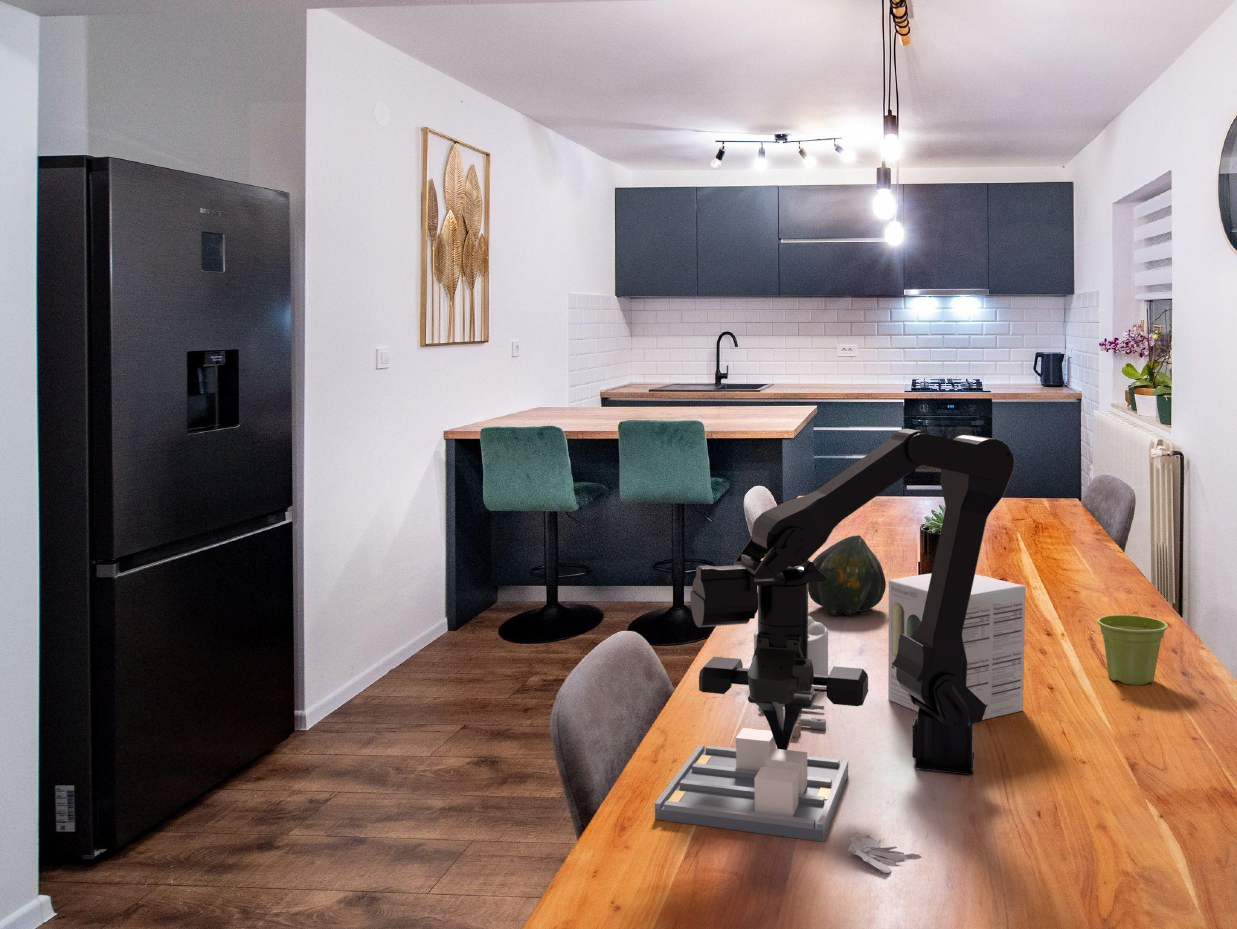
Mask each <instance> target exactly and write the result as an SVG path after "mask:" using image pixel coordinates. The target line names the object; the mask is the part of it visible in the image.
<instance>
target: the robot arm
mask: <svg viewBox="0 0 1237 929" xmlns="http://www.w3.org/2000/svg"><path fill="white" fill-rule="evenodd" d="M1015 461H1016V460H1015V456H1014V453H1013V452H1012V450H1010V446H1008V445H1007V444H1006V443H1005V442H1003V441H1002V440H999V439H997V438H992V437H986V436H985V437H984V436H977V435H971V434H963V435H962V434H961V435H959V436H955V438H946V437H942V436H937V435H933V434H929V433H928V432H926V431H923V430H918V429H917V430H916V429H910V428H903V429H900V430H898V431H896V432H895V433H894V434H893V435H892V436H891V437H890V439H888V440H887V441H885V442H884V443H882V444H881V445H880V446H878V447H876V448H875V449H873V450H872V451H871V452H869V453H868V454H866V455H865V456H864V457H862V458H860V459H859V460H857V461H856V462H854V464H852V465H851V466H848V468H846V469H845V470H844V471H842V472H840V473H839V474H838V475H836V476H835V477H833V478H832V479H830V480H829V481H828V482H826V483H825V484H823V485H822V486H820V487H819V488H818V489H816V490H814V491H812V492H810V493H808V494H805V495H803V496H799V497H796V498H793V499H790V500H786V501H785V502H783V503H780V504H778V505H776V506H774V507H772V508H770V509H768V510H767V509H766V510H765V511H763V512H762V513H760V515H758V517H756V518H755V519H754V521H753V525H752V526H753V527H752V530H751V537H749V539H748V541H747V542H746V543H745V545H744V546H743V548H742V549H741V550H740V552H739V554H737V556H736V558H735V559H734V561H733V565H722V566H721V565H720V566H719V565H718V566H713V565H698V566H696V573H695V575H696V576H695V577H694V579H693V581H692V582H693V583H692V589H691V590H690V592H689V593H690V597H689V598H690V607H691V608H690V609H691V615H692V618H693V622H694V624H695V625H696V626H697V628H704V627H705V628H707V627H721V626H722V627H723V626H733V625H747V624H749V622H750V620H752V619H755V618H756V614H757V629H758V634H757V641H756V644H757V645H756V649H755V652H754V651H753V655H752V659H751V660H752V661H751V663H750V665H749V667H748V668H745V667H743V661H742V659H741V658H735V657H734V658H733V657H722V656H721V657H720V656H713V657H711V659H709V661H708V662H707V663H706V664H704V665H703V667H702V668H701V669H700V670H699V673H698V674H699V675H698V691H699V692H701V693H707V694H708V693H709V694H718V695H725V694H726V693H727V692H728V691H729V690H730V689H731V688H732V686H733V685H739V686H741V685H742V686H748V691H749V692H748V693H749V695H748V697H747V701H748V702H749V703H750V704H755V705H756V706H758V708H759V707H760V709H761V710H762V711H763V714H764V717H765V719H766V720H767V724H768V725H769V730H770V731H771V732H772V735H773V737H774V740H775V743H776V749H781V750H789V747H790V743H791V741H792V739H793V738H792V735H793V732H794V729H795V726H796V723H797V720H798V718H800V715H801V713H802V711H803V710H804V709H803V708H810V707H811V706H812V705H813V704H815V701H816V699H817V698H818V695H819V694H818V693H819V692H820V693H821V692H823V693H826V698H827V699H828V700H829V701H830V702H831V703H832V704H833V705H839V706H850V707H851V706H852V707H861V706H863V705H864V703H865V701H866V698H867V695H868V693H869V676H868V675H869V674H868V673H867V671H865V669H864V668H860V667H859V668H858V667H848V666H835V665H833V667H832V669H831V670H830V672H829V673H828V675H820V674H814V672H813V664H812V661H811V659H808V616H809V592H808V583H815V582H825V581H826V580H827V577H826V576H825V575H824V574H822V573H821V572H820V571H819V570H818V569H817V568H816V566H815V565H814V563H813V560H810V558H812V556H814V554H816V553H817V551H819V549H820V548H821V547H823V545H824V544H826V542H827V541H828V539H830V536H831V534H832V533H833V531H834V530H835V528H836V527H837V526H838V525H839V524H840V523H841V522H842V521H844V520H845V519H846V518H848V517H849V516H850V515H853V513H855V512H856V511H858V510H859V509H861V508H862V507H863V506H865V505H866V504H868V503H869V502H870V501H871V500H873V499H875V498H876V497H877V496H879V495H881V494H882V493H883V492H885V491H886V490H887V489H889V488H890V487H892V486H893V485H894V484H896V483H898V482H899V481H901V480H902V479H903V478H905V477H906V476H907V475H909V474H910V473H912V472H913V471H914V470H916V469H918V468H919V467H922V466H926V467H931V468H937V469H940V479H939V480H940V486H941V487H940V488H941V491H942V496H943V500H944V501H943V502H944V508H945V510H944V515H943V518H942V524H941V527H940V528H941V529H940V531H939V532H940V533H939V538H938V542H937V548H936V551H935V556H934V562H933V565H932V570H931V573H932V574H931V579H930V584H929V588H928V593H927V598H926V602H925V607H924V612H923V616H922V621H921V623H920V625H919V627H918V628H917V629H916V631H915V632H914V633H913V634H912V636H911V637H910V636H907V635H904V634H901V635H900V637H899V642H898V653H897V656H896V659H895V660H894V662H893V663H892V665H893V666H894V667H896V678H897V681H898V682H899V684H900V685H901V687H902V689H904V690H905V691H906V692H908V694H909V696H910V699H911V702H912V703H913V704H914V705H917V706H919V711H918V712H917V718H914V720H913V723H912V735H911V736H912V738H911V742H912V743H911V744H912V747H911V749H912V750H911V753H912V754H911V755H912V756H911V757H912V758H913V759H915V763H914V768H916V769H917V770H926V771H935V772H943V773H952V774H953V773H955V774H961V775H962V774H963V775H972V774H973V772H974V763H975V752H974V724H980V723H981V722H982V721H983V720H982V719H983V716H984V713H985V710H986V705H985V704H984V703H983V702H982V701H981V700H980V699H979V698H978V697H977V696H976V695H975V694H974V693H973V692H971V691H970V690H969V689H968V688H967V687H966V684H967V665H968V662H967V657H966V652H965V647H964V643H963V638H962V632H963V627H964V623H965V618H966V613H967V609H968V604H969V600H970V595H971V590H972V586H973V581H974V576H975V574H976V572H977V566H978V562H979V559H980V558H979V557H980V553H981V548H982V542H983V539H984V535H985V531H986V529H985V528H986V525H987V521H988V518H989V516H990V514H991V513H992V512H993V510H994V508H995V507H997V505H998V504H999V503H1000V501H1001V500H1002V498H1003V497H1004V496H1005V493H1006V491H1007V488H1008V486H1009V484H1010V481H1011V478H1012V475H1013V473H1014V471H1015V463H1016V462H1015ZM783 704H784V706H785V707H783ZM784 708H785V717H784V715H783V710H784Z"/></svg>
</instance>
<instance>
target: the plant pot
mask: <svg viewBox="0 0 1237 929" xmlns="http://www.w3.org/2000/svg"><path fill="white" fill-rule="evenodd" d="M1096 622H1097V625H1099V627H1100V632H1101V634H1102V637H1103V643H1104V644H1103V645H1104V652H1105V658H1106V659H1105V660H1106V668H1107V676H1108V678H1109V679H1110V680H1112V681H1119V682H1120V683H1122V684H1125V685H1133V686H1134V685H1136V686H1137V685H1138V686H1142V685H1147V683H1154V682H1155V675H1156V669H1157V665H1158V659H1159V652H1160V648H1161V643H1162V639H1163V638H1164V636H1165V631H1166V630H1167V629H1168V628H1169V625H1168V623H1166V622H1165V621H1163V620H1161V619H1158V618H1155V617H1154V618H1153V617H1149V616H1142V615H1134V614H1133V615H1132V614H1111V615H1109V614H1108V615H1104V616H1100V617H1099V618H1097V619H1096Z"/></svg>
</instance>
